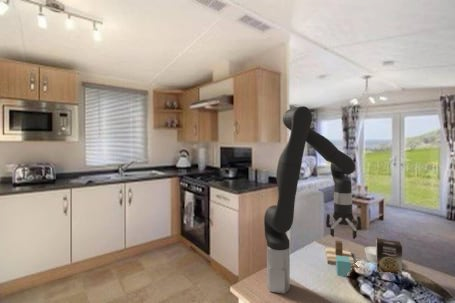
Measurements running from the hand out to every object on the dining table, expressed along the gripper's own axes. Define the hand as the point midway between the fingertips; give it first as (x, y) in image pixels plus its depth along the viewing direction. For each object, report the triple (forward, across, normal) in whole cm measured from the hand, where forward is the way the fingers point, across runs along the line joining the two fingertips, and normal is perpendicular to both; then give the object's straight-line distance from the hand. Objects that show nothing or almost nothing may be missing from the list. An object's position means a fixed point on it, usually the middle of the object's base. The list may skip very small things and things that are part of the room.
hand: (343, 237), depth 108 cm
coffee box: (+17, +18, +1) cm, 24 cm away
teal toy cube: (+16, 0, 0) cm, 16 cm away
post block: (+16, 0, +15) cm, 22 cm away
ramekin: (+17, +18, +17) cm, 30 cm away
